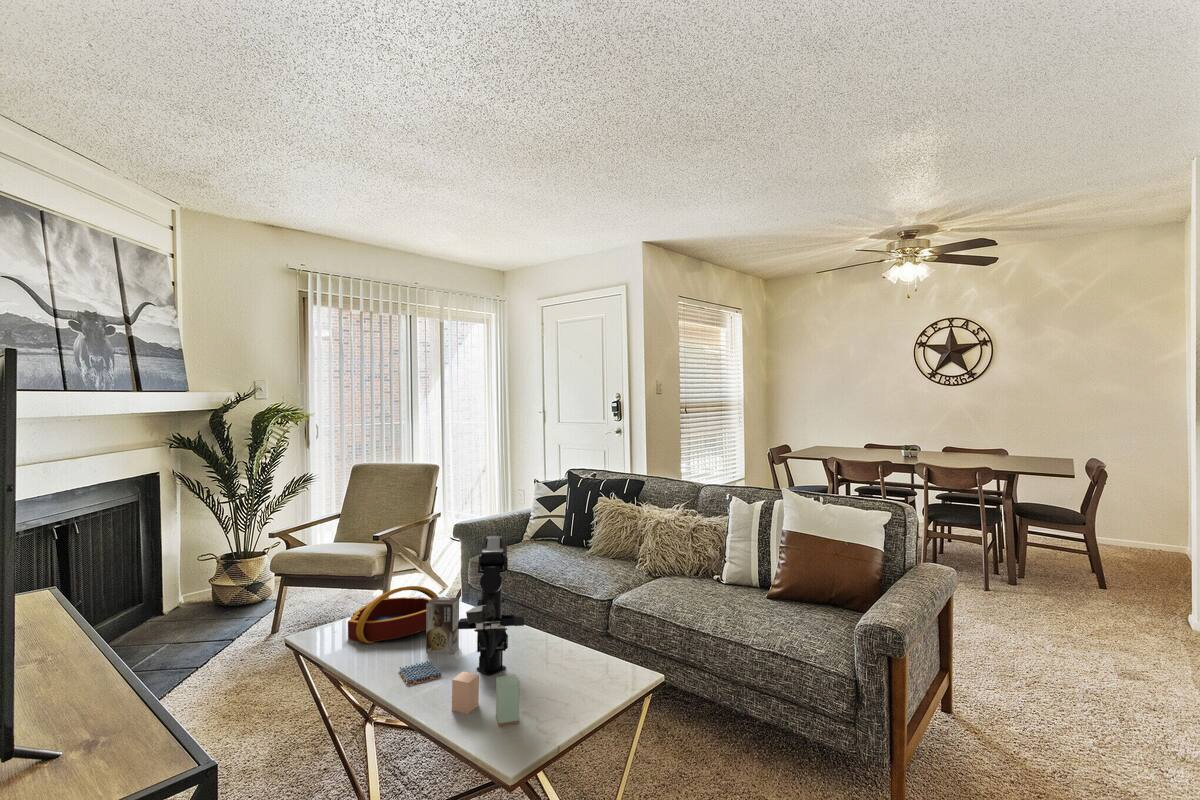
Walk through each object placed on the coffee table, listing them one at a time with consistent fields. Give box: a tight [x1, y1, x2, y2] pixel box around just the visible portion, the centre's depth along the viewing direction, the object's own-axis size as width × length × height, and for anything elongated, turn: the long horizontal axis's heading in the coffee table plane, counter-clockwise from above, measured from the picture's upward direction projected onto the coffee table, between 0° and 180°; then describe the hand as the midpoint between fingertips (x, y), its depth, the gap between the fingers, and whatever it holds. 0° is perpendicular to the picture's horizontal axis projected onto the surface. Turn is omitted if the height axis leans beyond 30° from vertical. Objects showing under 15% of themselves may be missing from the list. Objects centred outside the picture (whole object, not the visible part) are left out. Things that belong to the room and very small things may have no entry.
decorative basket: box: [347, 585, 439, 644], centre depth 205 cm, size 34×29×15 cm
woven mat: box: [398, 660, 443, 687], centre depth 170 cm, size 10×11×2 cm
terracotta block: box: [451, 671, 480, 715], centre depth 152 cm, size 5×5×8 cm
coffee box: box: [425, 596, 460, 655], centre depth 188 cm, size 9×6×16 cm
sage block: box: [495, 674, 520, 727], centre depth 146 cm, size 5×5×10 cm
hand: (490, 656), depth 156 cm, fingers closed
